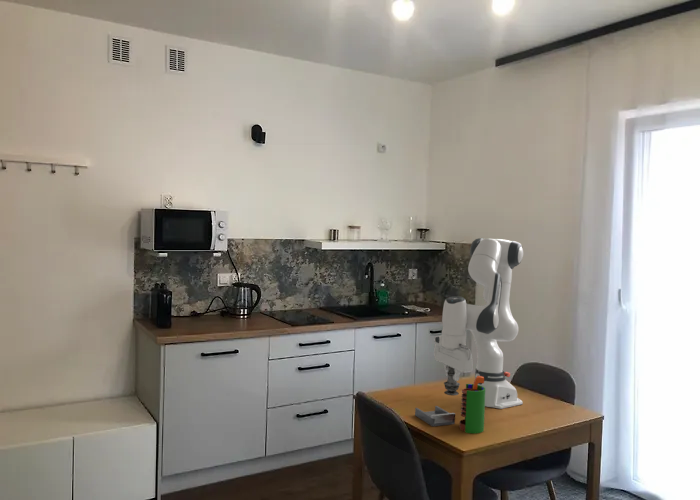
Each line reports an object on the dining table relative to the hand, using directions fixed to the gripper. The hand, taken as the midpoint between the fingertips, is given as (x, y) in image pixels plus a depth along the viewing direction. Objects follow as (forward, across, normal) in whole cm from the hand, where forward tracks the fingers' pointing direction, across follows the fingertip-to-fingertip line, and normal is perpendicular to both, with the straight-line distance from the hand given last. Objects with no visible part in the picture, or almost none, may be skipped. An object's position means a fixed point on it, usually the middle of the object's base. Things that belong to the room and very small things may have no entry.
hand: (452, 378), depth 212 cm
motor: (+20, 0, -10) cm, 22 cm away
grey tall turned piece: (+6, 0, 0) cm, 6 cm away
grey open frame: (+20, +13, -1) cm, 24 cm away
